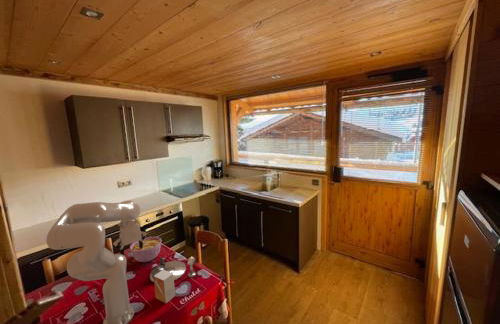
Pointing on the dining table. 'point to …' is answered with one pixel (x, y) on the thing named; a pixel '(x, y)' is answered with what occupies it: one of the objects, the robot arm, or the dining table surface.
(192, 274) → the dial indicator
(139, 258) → the bowl of food
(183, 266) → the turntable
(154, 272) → the cover
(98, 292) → the dining table surface
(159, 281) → the small box
